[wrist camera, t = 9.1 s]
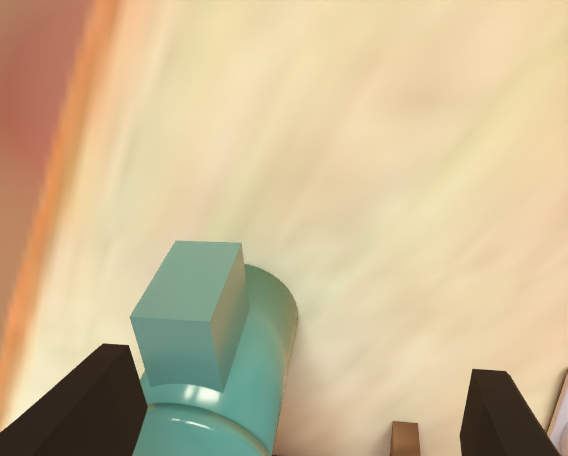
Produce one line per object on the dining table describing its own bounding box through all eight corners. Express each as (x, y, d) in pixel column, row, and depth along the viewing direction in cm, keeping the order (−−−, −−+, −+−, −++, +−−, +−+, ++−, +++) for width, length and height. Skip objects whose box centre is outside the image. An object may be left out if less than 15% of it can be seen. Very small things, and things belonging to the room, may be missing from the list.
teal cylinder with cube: (296, 208, 19) (254, 365, 13) (304, 358, 23) (277, 536, 17) (158, 205, 20) (50, 351, 13) (190, 350, 24) (121, 515, 18)
